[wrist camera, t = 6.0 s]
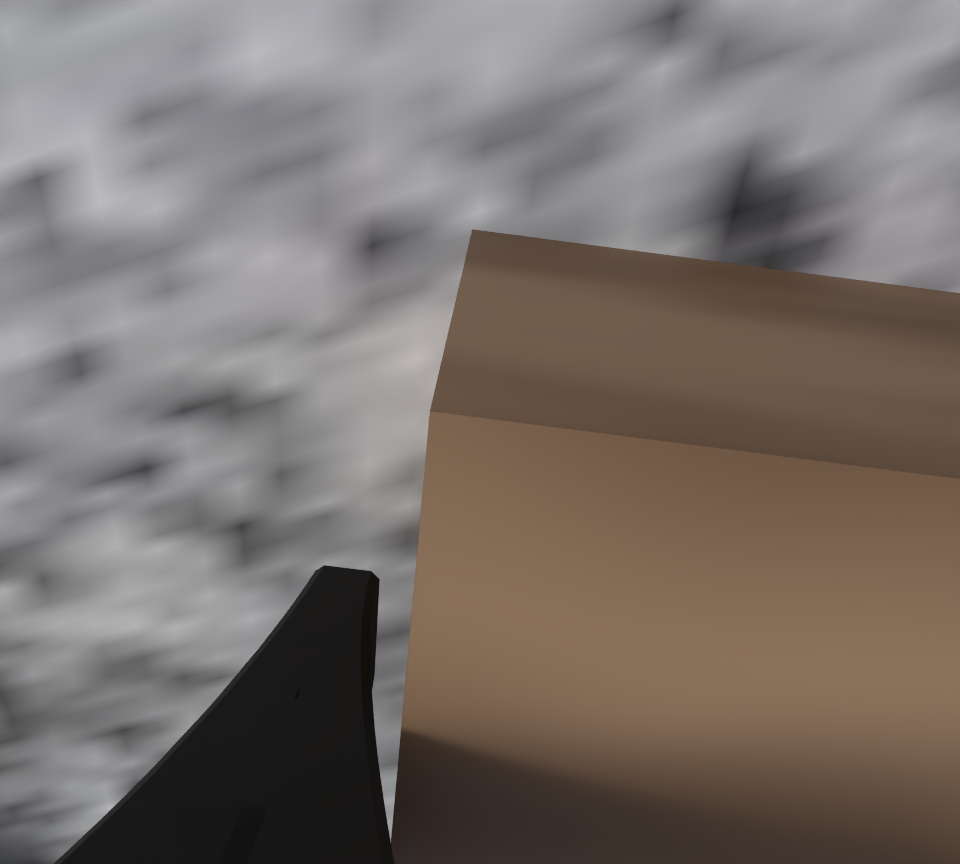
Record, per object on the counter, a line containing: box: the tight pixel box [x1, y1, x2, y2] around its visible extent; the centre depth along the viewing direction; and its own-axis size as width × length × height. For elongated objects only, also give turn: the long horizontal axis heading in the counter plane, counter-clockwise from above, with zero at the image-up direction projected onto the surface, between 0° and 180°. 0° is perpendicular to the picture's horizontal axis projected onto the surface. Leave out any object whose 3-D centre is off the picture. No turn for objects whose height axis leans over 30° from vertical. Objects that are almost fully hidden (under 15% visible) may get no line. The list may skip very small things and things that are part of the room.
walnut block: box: [391, 230, 960, 864], centre depth 9 cm, size 10×8×4 cm
